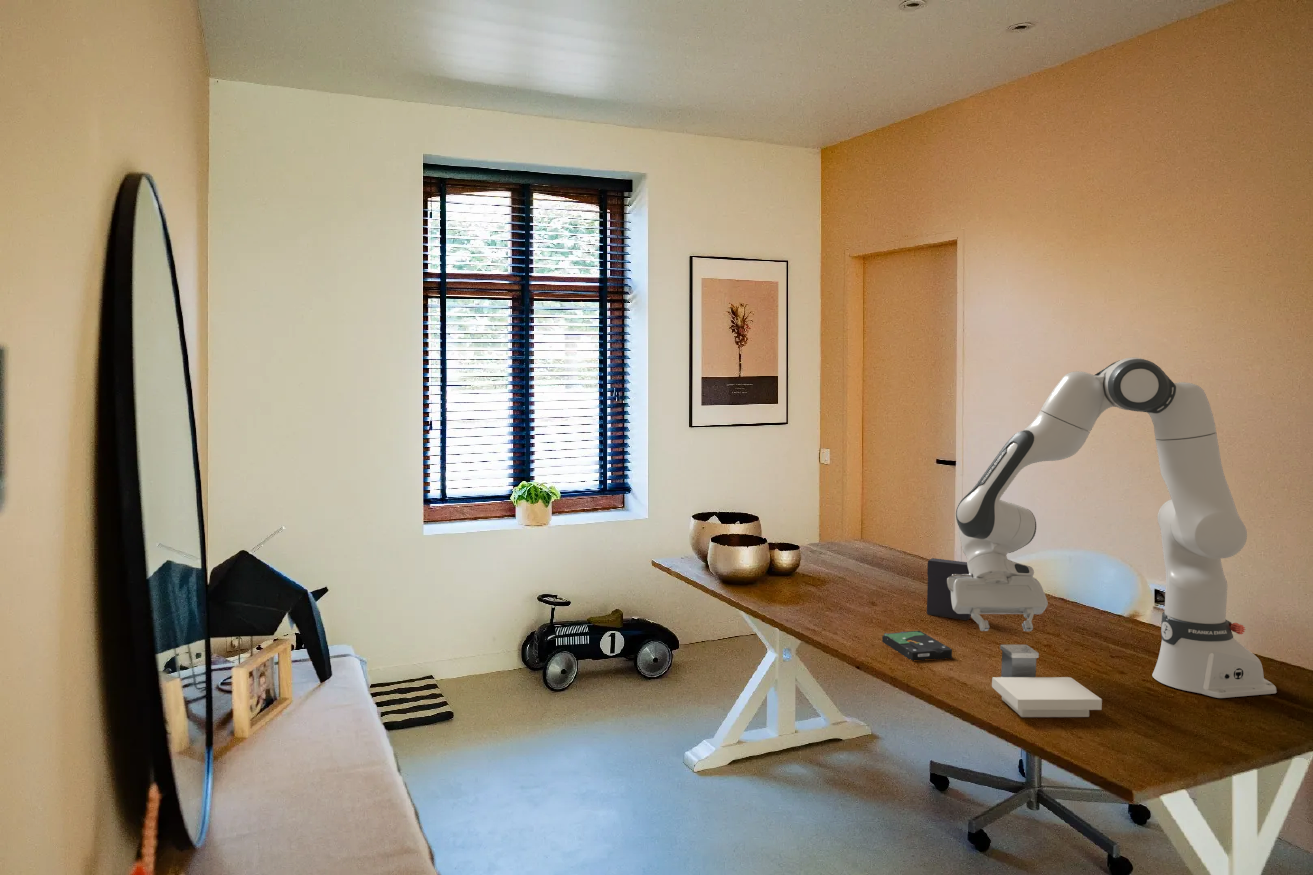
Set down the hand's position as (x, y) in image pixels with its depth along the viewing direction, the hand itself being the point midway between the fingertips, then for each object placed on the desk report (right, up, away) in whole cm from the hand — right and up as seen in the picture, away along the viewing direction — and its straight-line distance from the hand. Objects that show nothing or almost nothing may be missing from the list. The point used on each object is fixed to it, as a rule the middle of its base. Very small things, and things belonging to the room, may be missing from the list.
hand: (1007, 629), depth 189 cm
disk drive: (-14, -9, +18) cm, 25 cm away
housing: (0, -11, -5) cm, 12 cm away
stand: (0, -11, -17) cm, 21 cm away
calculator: (+3, -7, +47) cm, 47 cm away
